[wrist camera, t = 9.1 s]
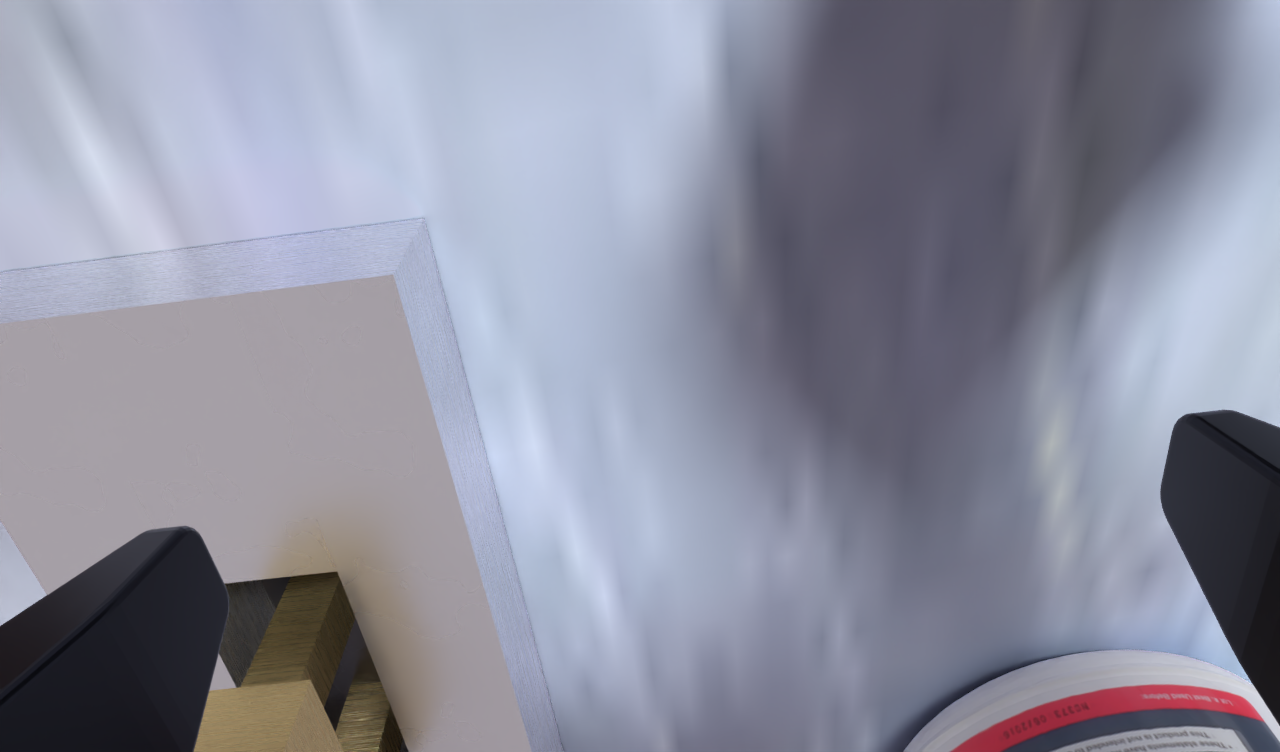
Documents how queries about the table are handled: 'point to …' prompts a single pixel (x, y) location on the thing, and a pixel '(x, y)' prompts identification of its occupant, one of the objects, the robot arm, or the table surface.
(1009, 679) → the supplement tub
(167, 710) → the robot arm
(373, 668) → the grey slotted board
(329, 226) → the table surface
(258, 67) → the table surface
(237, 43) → the table surface
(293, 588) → the tan pronged block
